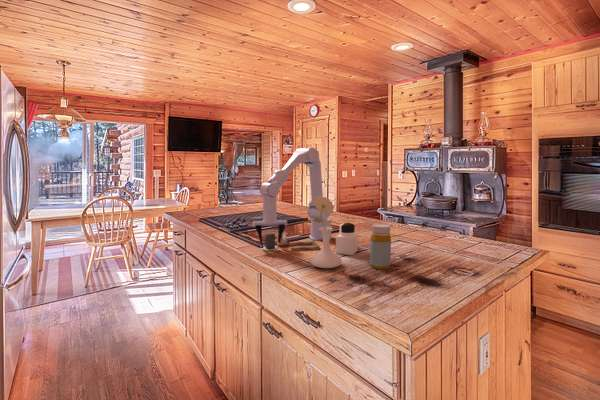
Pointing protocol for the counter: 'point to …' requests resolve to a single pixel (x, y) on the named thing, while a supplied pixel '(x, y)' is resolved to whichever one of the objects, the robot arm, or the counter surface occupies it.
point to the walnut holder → (314, 247)
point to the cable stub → (270, 240)
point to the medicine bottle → (347, 239)
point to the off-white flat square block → (269, 249)
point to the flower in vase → (325, 237)
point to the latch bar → (282, 240)
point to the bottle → (380, 246)
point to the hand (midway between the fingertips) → (270, 242)
